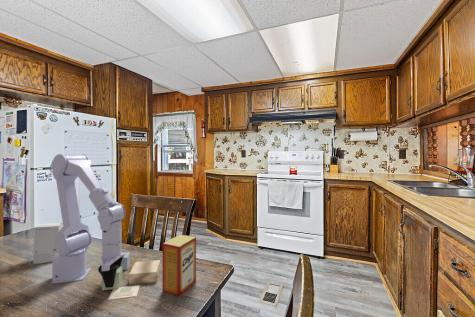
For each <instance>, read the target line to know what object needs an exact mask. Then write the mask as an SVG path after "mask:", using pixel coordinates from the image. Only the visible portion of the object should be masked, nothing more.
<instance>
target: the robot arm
mask: <svg viewBox="0 0 475 317" xmlns="http://www.w3.org/2000/svg"><path fill="white" fill-rule="evenodd" d="M91 168H92V161H91V160H90V158H89V155H87V154H84V153H82V154H81V153H80V154H74V153H73V154H62V153H58V154H56V155H55V156H54V157H53V160H52V161H51V169H52V176H53V179H54V180H55V182H56V188H57V194H58V200H59V206H60V214H61V220H62V223H63V228H62V229H61V230H60V231H59V232H58V233H57V234H56V243H55V249H56V251H57V254H56V255H55V257H54V259H53V262H52V269H51V270H52V272H51V273H52V275H51V276H52V281H51V282H50V284H59V283H69V282H78V281H83V280H84V279H85V278H86V276H88V273H89V272H90V271H91V268H90V267H89V268H87V250H88V249H89V246H90V245H91V244H92V240H93V236H92V233H91V231H90V230H89V229H90V228H89V226H88V225H86V224H84V223H82V221H81V214H80V213H81V212H80V208H79V207H80V206H79V200H78V197H77V188H76V183H75V181H76V180H77V178H78V179H79V180H80V181H81V182H82V184H83V185H84V186H85V188H86V189H87V190H88V191H89V194H88V198H89V199H90V201H91V203H92V204H93V206H94V208H95V209H96V211H97V212H98V214H97V220H98V222H99V226H100V227H99V229H100V230H101V235H102V236H101V240H102V241H101V245H102V246H101V248H102V249H101V253H102V254H101V262H102V264H101V265H99V266H98V268H97V270H98V271H97V272H98V273H99V274H100V275H101V278H102V277H103V280H104V284H105V287H106V288H108V287H113V285H114V281H115V274H116V271H117V268H118V267H120V266H121V262H122V259H123V257H124V256H125V252H123V251H122V249H123V248H122V236H123V234H122V233H123V232H122V229H123V228H122V225H123V224H122V222H123V220H124V219H125V218H126V214H127V213H126V208H125V207H124V205H123V204H121V203H119V202H118V201H115V199H114V198H113V196H112V195H111V193H110V192H109V190H108V189H107V187H104V186H101V184H100V183H99V181H98V180H97V178H96V176H95V174H94V172H93V169H91Z"/></svg>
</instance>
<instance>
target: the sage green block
mask: <svg viewBox="0 0 475 317" xmlns="http://www.w3.org/2000/svg"><path fill="white" fill-rule="evenodd" d="M122 282H123V270H122V267H118V268H117V271H116V274H115V281H114V285H113V287H108V288H106V287H105V284H104V280H103V277H102V276H101V291H108V290H109V291H110V290H113V289H117V288H120V287H121V285H122Z"/></svg>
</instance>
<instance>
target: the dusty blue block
mask: <svg viewBox="0 0 475 317" xmlns="http://www.w3.org/2000/svg"><path fill="white" fill-rule="evenodd" d="M130 265H131V252H130V251H128V252H125V256H124V257H123V259H122V262H121V266H120V267H122V271H127V270H128V268H129V267H130Z"/></svg>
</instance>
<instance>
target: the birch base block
mask: <svg viewBox="0 0 475 317" xmlns="http://www.w3.org/2000/svg"><path fill="white" fill-rule="evenodd" d="M160 272H161V259H158V260H157V259H156V260H143V261H135V262H134V264H133V266H132V268H131V270H130V271H129V274H128V285H136V284H137V285H138V284H147V283H148V284H149V283H157V282H158V279H159V277H160V276H159V275H160Z"/></svg>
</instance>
